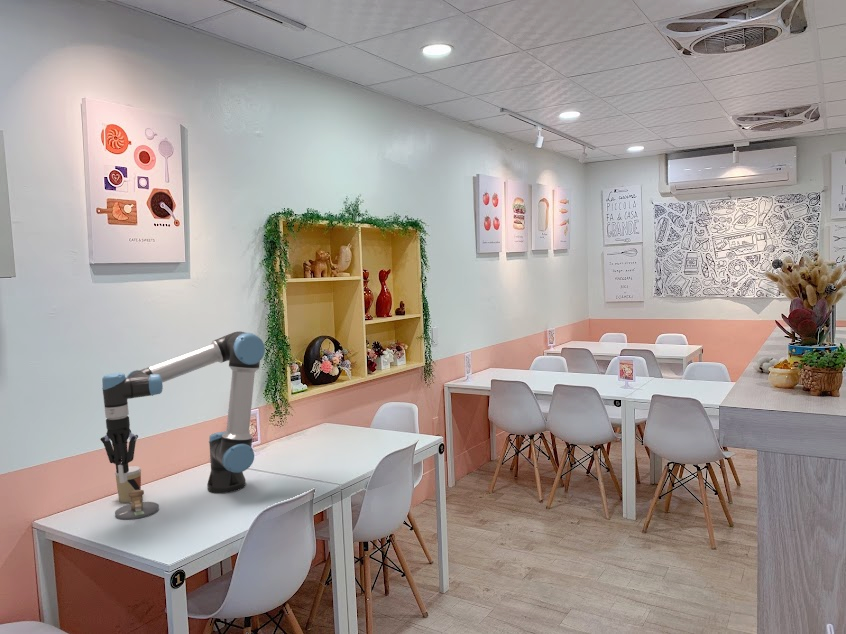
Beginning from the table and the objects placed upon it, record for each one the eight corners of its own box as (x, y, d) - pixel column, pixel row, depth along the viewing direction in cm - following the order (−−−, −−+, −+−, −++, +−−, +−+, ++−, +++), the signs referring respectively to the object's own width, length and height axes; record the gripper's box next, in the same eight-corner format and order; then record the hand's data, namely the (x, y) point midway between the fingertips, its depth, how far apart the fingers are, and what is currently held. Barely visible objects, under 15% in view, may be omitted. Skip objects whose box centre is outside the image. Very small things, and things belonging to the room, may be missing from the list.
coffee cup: (132, 503, 251) (131, 473, 250) (111, 502, 253) (109, 472, 252) (147, 495, 260) (145, 466, 259) (127, 494, 262) (125, 465, 261)
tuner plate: (166, 504, 249) (165, 501, 249) (147, 519, 234) (146, 516, 234) (128, 504, 250) (128, 501, 250) (106, 520, 235) (106, 516, 235)
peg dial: (129, 507, 243) (128, 491, 242) (144, 504, 245) (143, 488, 245) (131, 517, 232) (130, 501, 232) (146, 515, 235) (145, 498, 234)
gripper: (93, 420, 227) (100, 485, 229) (129, 419, 226) (135, 484, 229) (105, 415, 235) (111, 478, 237) (140, 413, 234) (146, 477, 236)
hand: (123, 481), depth 233 cm, fingers closed
